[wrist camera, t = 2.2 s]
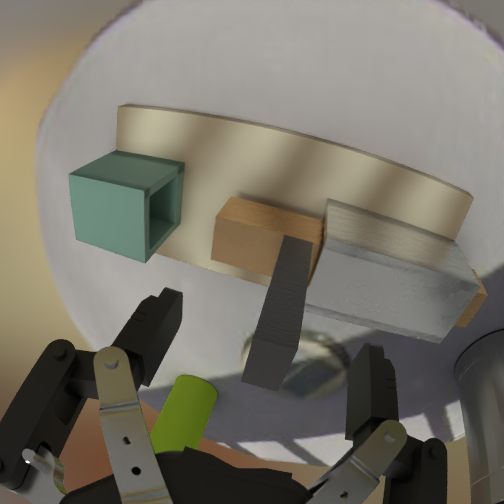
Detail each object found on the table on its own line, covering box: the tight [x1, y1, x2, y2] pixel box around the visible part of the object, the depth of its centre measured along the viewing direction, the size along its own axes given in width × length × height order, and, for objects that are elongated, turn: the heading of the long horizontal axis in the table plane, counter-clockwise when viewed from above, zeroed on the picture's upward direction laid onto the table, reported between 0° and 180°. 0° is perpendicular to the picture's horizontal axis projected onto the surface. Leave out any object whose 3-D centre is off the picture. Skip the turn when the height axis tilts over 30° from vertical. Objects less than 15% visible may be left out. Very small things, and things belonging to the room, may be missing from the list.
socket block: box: [69, 150, 185, 263], centre depth 20 cm, size 6×5×6 cm
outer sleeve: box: [304, 198, 481, 343], centre depth 18 cm, size 10×5×6 cm, turn 80°
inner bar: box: [210, 196, 488, 391], centre depth 15 cm, size 18×3×10 cm, turn 80°
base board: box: [116, 105, 473, 287], centre depth 22 cm, size 26×12×1 cm, turn 80°
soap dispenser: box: [150, 375, 217, 454], centre depth 29 cm, size 6×7×20 cm
